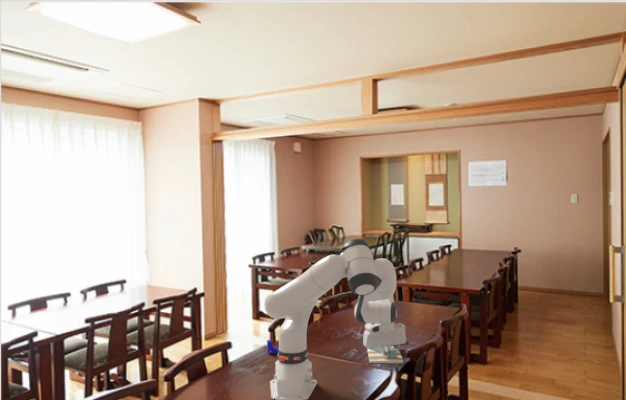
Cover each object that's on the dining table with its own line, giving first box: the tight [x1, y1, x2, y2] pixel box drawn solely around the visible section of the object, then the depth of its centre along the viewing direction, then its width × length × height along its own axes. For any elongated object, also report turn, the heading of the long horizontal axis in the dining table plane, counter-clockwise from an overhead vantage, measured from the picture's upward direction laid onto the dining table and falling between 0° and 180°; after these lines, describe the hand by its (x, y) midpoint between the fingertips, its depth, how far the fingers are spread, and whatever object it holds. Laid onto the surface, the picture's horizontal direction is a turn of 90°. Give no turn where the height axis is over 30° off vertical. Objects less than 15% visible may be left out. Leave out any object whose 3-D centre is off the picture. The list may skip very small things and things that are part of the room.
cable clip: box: [266, 339, 279, 355], centre depth 215 cm, size 12×4×6 cm, turn 107°
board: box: [366, 346, 404, 364], centre depth 206 cm, size 20×15×5 cm
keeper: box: [391, 344, 401, 350], centre depth 210 cm, size 4×11×6 cm, turn 147°
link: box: [369, 346, 397, 358], centre depth 207 cm, size 18×4×3 cm, turn 29°
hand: (385, 355), depth 200 cm, fingers closed
